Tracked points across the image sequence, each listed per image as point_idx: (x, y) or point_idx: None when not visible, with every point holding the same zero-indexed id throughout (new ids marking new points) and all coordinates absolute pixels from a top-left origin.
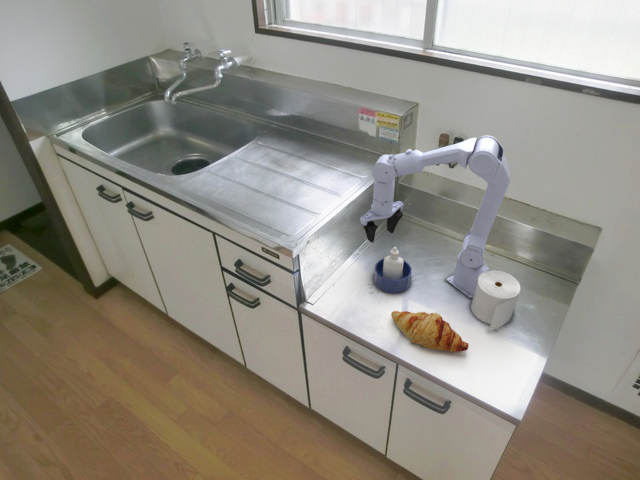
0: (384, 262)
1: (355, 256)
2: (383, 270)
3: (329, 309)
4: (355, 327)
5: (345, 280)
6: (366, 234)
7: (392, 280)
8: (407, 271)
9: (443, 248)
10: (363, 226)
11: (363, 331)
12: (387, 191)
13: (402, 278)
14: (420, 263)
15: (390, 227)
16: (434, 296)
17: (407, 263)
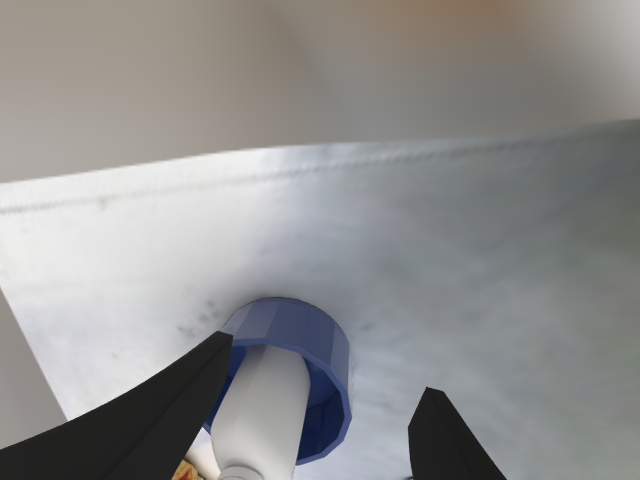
0: (212, 424)
1: (303, 153)
2: (233, 379)
3: (25, 271)
4: (56, 367)
5: (155, 224)
6: (182, 357)
7: (210, 433)
8: (335, 410)
9: (598, 417)
10: (62, 430)
11: (67, 389)
12: None
13: (314, 384)
14: (444, 388)
15: (426, 461)
16: (320, 471)
17: (341, 435)
